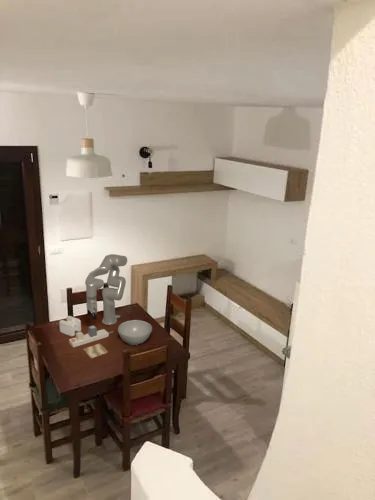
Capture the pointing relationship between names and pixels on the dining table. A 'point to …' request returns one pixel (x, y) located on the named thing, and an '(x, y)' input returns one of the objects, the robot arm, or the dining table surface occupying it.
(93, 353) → the beige square cloth
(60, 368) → the dining table surface
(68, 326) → the cable organizer
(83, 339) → the power strip
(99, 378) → the dining table surface
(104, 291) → the robot arm
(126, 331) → the decorative bowl
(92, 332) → the charger
